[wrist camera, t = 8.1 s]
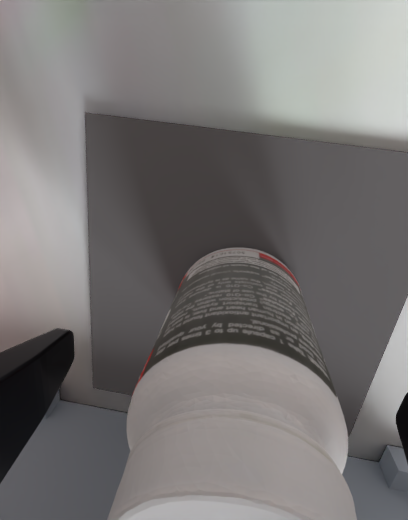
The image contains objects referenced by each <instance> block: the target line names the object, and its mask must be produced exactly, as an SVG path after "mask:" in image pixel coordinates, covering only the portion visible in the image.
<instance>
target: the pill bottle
mask: <svg viewBox="0 0 408 520" xmlns="http://www.w3.org/2000/svg"><path fill="white" fill-rule="evenodd" d="M127 439H128V444H129V448H130V454H129V457H128V460H127V463H126V467H125V470H124V473H123V476H122V479H121V482H120V484H119V487H118V490H117V492H116V495H115V499H114V502H113V504H112V507H111V510H110V513H109V516H108V519H107V520H357V517H356V512H355V506H354V501H353V497H352V495H351V492H350V490H349V487H348V485H347V483H346V481H345V479H344V477H343V475H342V473H343V470H344V468H345V464H346V460H347V454H348V433H347V427H346V423H345V419H344V415H343V412H342V409H341V406H340V403H339V400H338V397H337V394H336V391H335V389H334V386H333V383H332V380H331V376H330V374H329V371H328V369H327V366H326V363H325V360H324V358H323V354H322V351H321V348H320V346H319V343H318V340H317V337H316V335H315V331H314V328H313V325H312V323H311V320H310V317H309V314H308V311H307V308H306V305H305V302H304V299H303V296H302V292H301V289H300V286H299V284H298V282H297V280H296V278H295V277H294V275H293V274H292V272H291V271H290V270H289V269H288V268H287V267H286V266H285V265H284V264H283V263H282V262H281V261H279V260H278V259H277V258H275V257H274V256H272V255H270V254H268V253H265V252H263V251H260V250H256V249H251V248H226V249H221V250H217V251H214V252H212V253H210V254H207V255H206V256H204V257H202V258H201V259H199V260H198V261H197V262H196V263H195V264H194V265H193V266H192V267H191V268H190V269H189V270H188V271H187V273H186V274H185V276H184V278H183V279H182V281H181V283H180V286H179V288H178V291H177V293H176V295H175V298H174V300H173V302H172V305H171V307H170V309H169V312H168V314H167V316H166V318H165V321H164V323H163V325H162V328H161V330H160V332H159V335H158V337H157V339H156V341H155V343H154V346H153V349H152V351H151V353H150V355H149V357H148V360H147V362H146V364H145V366H144V369H143V371H142V373H141V375H140V377H139V380H138V383H137V384H136V387H135V390H134V392H133V395H132V399H131V402H130V406H129V409H128V415H127Z"/></svg>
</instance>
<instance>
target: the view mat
mask: <svg viewBox="0 0 408 520" xmlns="http://www.w3.org/2000/svg"><path fill="white" fill-rule="evenodd" d="M85 127H86V161H87V196H88V230H89V265H90V299H91V334H92V368H93V388H97V389H102V390H107V391H112V392H117V393H123V394H128V395H133V392H134V390H135V387H136V384H137V383H138V380H139V377H140V375H141V373H142V371H143V369H144V366H145V364H146V362H147V360H148V357H149V355H150V353H151V351H152V349H153V346H154V343H155V341H156V339H157V337H158V335H159V332H160V330H161V328H162V325H163V323H164V321H165V318H166V316H167V314H168V312H169V309H170V307H171V305H172V302H173V300H174V298H175V295H176V293H177V291H178V288H179V286H180V283H181V281H182V279H183V278H184V276H185V274H186V273H187V271H188V270H189V269H190V268H191V267H192V266H193V265H194V264H195V263H196V262H197V261H198V260H199V259H201V258H202V257H204V256H206V255H207V254H210V253H212V252H214V251H217V250H221V249H226V248H251V249H256V250H260V251H263V252H265V253H268V254H270V255H272V256H274V257H275V258H277V259H278V260H279V261H281V262H282V263H283V264H284V265H285V266H286V267H287V268H288V269H289V270H290V271H291V272H292V274H293V275H294V277H295V278H296V280H297V282H298V284H299V286H300V289H301V292H302V296H303V299H304V302H305V305H306V308H307V311H308V314H309V317H310V320H311V323H312V325H313V328H314V331H315V335H316V337H317V340H318V343H319V346H320V348H321V351H322V354H323V358H324V360H325V363H326V366H327V369H328V371H329V374H330V376H331V380H332V383H333V386H334V389H335V391H336V394H337V397H338V400H339V403H340V406H341V409H342V412H343V415H344V419H345V423H346V427H347V433H348V437H349V435H350V433H351V431H352V428H353V426H354V423H355V421H356V419H357V416H358V414H359V411H360V409H361V407H362V404H363V402H364V399H365V397H366V395H367V392H368V390H369V387H370V385H371V383H372V380H373V378H374V375H375V373H376V371H377V368H378V366H379V363H380V361H381V358H382V356H383V354H384V351H385V349H386V346H387V344H388V342H389V339H390V337H391V334H392V332H393V330H394V327H395V325H396V322H397V320H398V318H399V315H400V313H401V310H402V308H403V306H404V303H405V301H406V298H407V296H408V152H400V151H392V150H384V149H376V148H367V147H359V146H351V145H343V144H335V143H327V142H319V141H311V140H303V139H295V138H287V137H279V136H271V135H262V134H254V133H246V132H238V131H230V130H222V129H214V128H206V127H198V126H190V125H182V124H174V123H166V122H158V121H149V120H141V119H133V118H125V117H117V116H109V115H101V114H93V113H85Z"/></svg>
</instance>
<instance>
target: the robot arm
mask: <svg viewBox="0 0 408 520" xmlns="http://www.w3.org/2000/svg"><path fill="white" fill-rule="evenodd" d="M73 360H74V336H73V332H72V331H70V330H66V329H60V328H57V329H54V330H52V331H50V332H47V333H45V334H43V335H40V336H38V337H36V338H33V339H31V340H29V341H26V342H24V343H22V344H19V345H17V346H15V347H12V348H10V349H8V350H5V351H3V352H1V353H0V484H1V482H2V481H3V479H4V478H5V476H6V474H7V473H8V471H9V470H10V468H11V467H12V465H13V464H14V462H15V461H16V459H17V458H18V456H19V455H20V453H21V451H22V450H23V448H24V447H25V445H26V444H27V442H28V441H29V439H30V438H31V436H32V435H33V433H34V432H35V430H36V429H37V427H38V425H39V424H40V422H41V421H42V419H43V418H44V416H45V414H46V413H47V411H48V409H49V407H50V405H51V403H52V401H53V400H54V398H55V396H56V394H57V392H58V390H59V388H60V386H61V384H62V382H63V380H64V378H65V376H66V374H67V372H68V371H69V369H70V367H71V365H72V363H73ZM396 425H397V428H398V432H399V435H400V439H401V443H402V446H403V450H404V453H405V457H406V460H407V464H408V393H407V394H406V395H405V397H404V399H403V401H402V403H401V406H400V408H399V410H398V412H397V414H396Z"/></svg>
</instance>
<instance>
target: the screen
mask: <svg viewBox="0 0 408 520" xmlns="http://www.w3.org/2000/svg"><path fill="white" fill-rule="evenodd" d="M127 415H128V413H124V412H119V411H114V410H109V409H104V408H98V407H93V406H88V405H83V404H78V403H73V402H68V401H63V400H60V393H59V390H58V392H57V394H56V396H55V398H54V400H53V401H52V403H51V405H50V407H49V409H48V411H47V413H46V414H45V416H44V418H43V419H42V421H41V422H40V424H39V425H38V427H37V429H36V430H35V432H34V433H33V435H32V436H31V438H30V439H29V441H28V442H27V444H26V445H25V447H24V448H23V450H22V451H21V453H20V455H19V456H18V458H17V459H16V461H15V462H14V464H13V465H12V467H11V468H10V470H9V471H8V473H7V474H6V476H5V478H4V479H3V481H2V482H1V484H0V520H107V519H108V516H109V513H110V510H111V507H112V504H113V502H114V499H115V495H116V492H117V490H118V487H119V484H120V482H121V479H122V476H123V473H124V470H125V467H126V463H127V460H128V457H129V454H130V448H129V444H128V439H127ZM342 475H343V477H344V479H345V481H346V483H347V485H348V487H349V490H350V492H351V495H352V497H353V501H354V506H355V512H356V517H357V520H408V464H407V460H406V457H405V453H404V450H403V448H400V447H395V446H390V445H387V447H386V449H385V451H384V453H383V455H382V457H381V459H380V461H379V462H374V461H369V460H364V459H359V458H354V457H349V456H347V460H346V464H345V468H344V470H343V473H342Z"/></svg>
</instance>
